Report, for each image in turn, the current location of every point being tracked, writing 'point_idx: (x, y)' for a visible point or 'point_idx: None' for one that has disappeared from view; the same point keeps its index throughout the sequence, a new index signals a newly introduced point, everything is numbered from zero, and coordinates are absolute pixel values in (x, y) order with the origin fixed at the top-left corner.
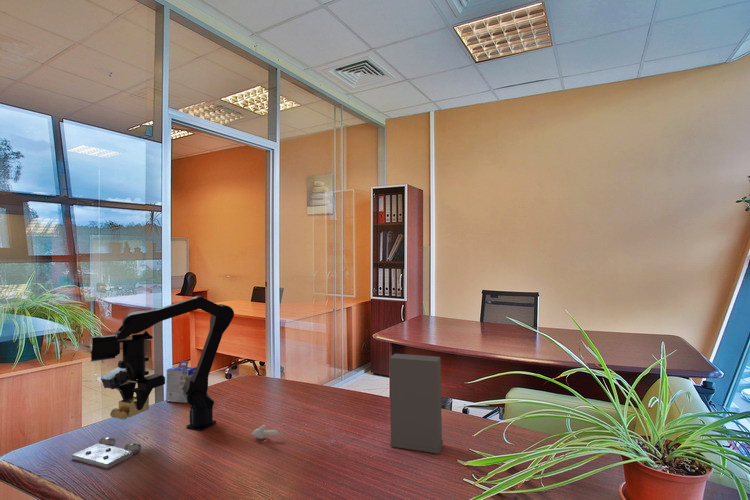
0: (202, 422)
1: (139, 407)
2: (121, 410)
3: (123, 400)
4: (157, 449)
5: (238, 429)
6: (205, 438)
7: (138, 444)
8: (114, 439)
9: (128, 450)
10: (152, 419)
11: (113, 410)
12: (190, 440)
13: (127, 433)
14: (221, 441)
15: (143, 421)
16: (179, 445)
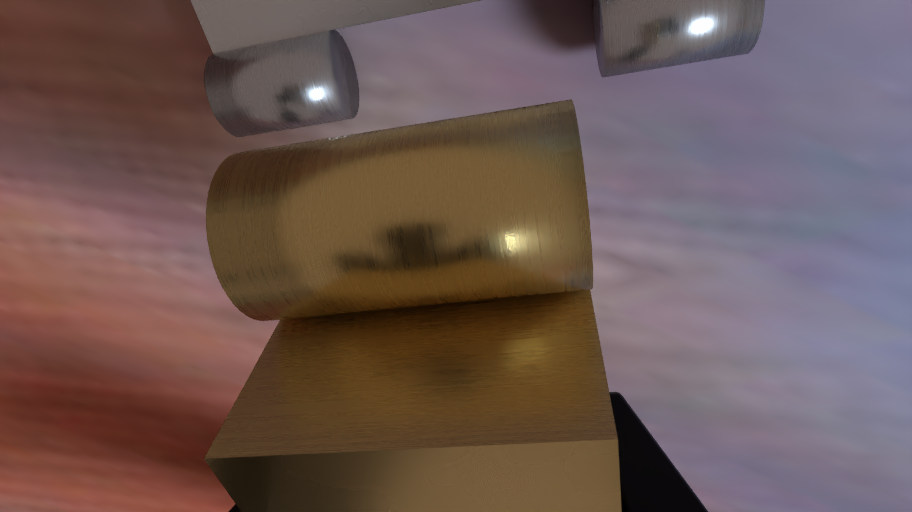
0: None
1: None
2: (309, 256)
3: (555, 498)
4: (203, 197)
5: (139, 497)
6: (147, 395)
7: (217, 119)
8: (604, 71)
9: (259, 35)
10: (760, 430)
11: (526, 186)
12: (184, 353)
13: (729, 238)
14: (45, 404)
15: (804, 394)
16: (157, 292)
